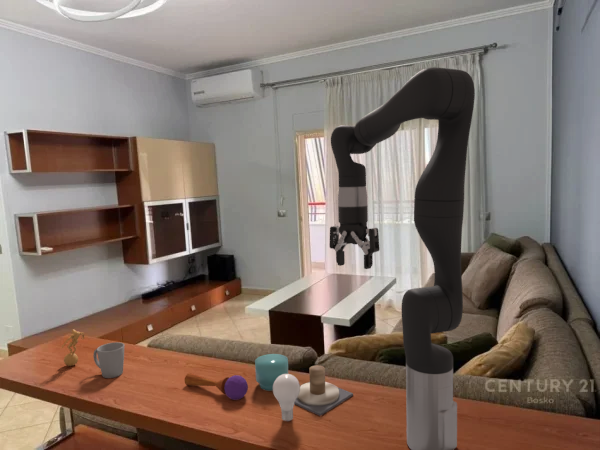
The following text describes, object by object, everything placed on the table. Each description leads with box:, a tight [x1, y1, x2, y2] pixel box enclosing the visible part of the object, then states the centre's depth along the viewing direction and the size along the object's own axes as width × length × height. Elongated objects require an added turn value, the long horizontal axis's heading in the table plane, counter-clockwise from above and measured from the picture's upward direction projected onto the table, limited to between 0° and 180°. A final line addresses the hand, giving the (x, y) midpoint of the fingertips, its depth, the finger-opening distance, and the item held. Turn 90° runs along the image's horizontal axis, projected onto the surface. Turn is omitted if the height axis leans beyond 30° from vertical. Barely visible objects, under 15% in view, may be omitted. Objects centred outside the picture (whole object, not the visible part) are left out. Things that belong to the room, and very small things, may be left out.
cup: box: [93, 341, 125, 379], centre depth 127 cm, size 8×10×8 cm
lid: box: [297, 364, 339, 406], centre depth 109 cm, size 11×11×7 cm
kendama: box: [184, 372, 249, 401], centre depth 114 cm, size 6×6×20 cm
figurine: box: [61, 328, 85, 367], centre depth 133 cm, size 8×6×12 cm
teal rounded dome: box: [254, 353, 289, 392], centre depth 117 cm, size 9×9×7 cm
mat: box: [294, 386, 354, 417], centre depth 109 cm, size 13×13×1 cm
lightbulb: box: [272, 373, 301, 422], centre depth 98 cm, size 6×6×11 cm
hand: (353, 266), depth 110 cm, fingers open, 8 cm apart
